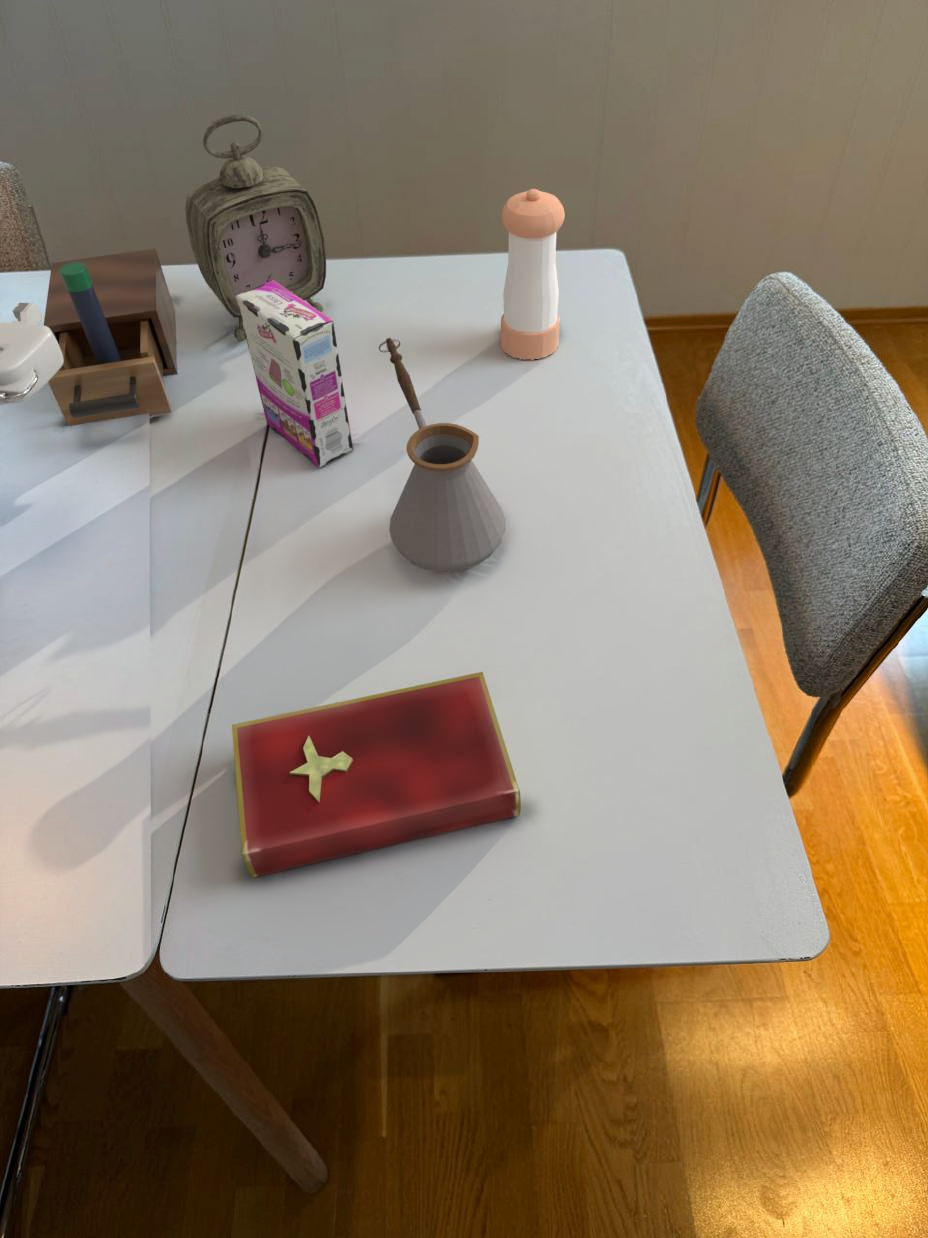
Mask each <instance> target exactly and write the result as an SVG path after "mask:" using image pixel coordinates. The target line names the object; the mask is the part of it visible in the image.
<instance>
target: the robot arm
mask: <svg viewBox="0 0 928 1238" xmlns="http://www.w3.org/2000/svg"><path fill="white" fill-rule="evenodd" d="M12 313H13V316H14V317H15V319H16V320H14V321H13V322H1V321H0V406H5V405H13V404H20V403H22V402H24V401H26V400H28V399H30V398H31V397H32V396H35V394H36V393H38V392H39V391H40V390H41V389H42V388H43V387H44V386H45V385H46V384H48V381H49V380H50V379H51V378H52V377H53V376H54V375H55V374H56V373H57V371H58V370H59V369H60V368H61V367H62V365H63V362H64V359H63V355H62V351H61V349H60V346H59V344H58V342H57V340H56V338H55V336H54V334H53V333H52V331H51V329H50V328H49V327H47V326H44V324H40V323H41V322H42V313H41V311H40V308H39V306H38V304H36V303H35V302H34V303H33V302H31V303H30V302H19V303H18V304H17V306H15V307H14V308H13V310H12Z"/></svg>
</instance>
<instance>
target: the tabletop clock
mask: <svg viewBox="0 0 928 1238" xmlns="http://www.w3.org/2000/svg"><path fill="white" fill-rule="evenodd" d="M236 122H245V123H246V122H247V123H250V124H252V125H254V126H255V127H256V128H257V130H258V135H257V137H256V138H255V140H253V142H251V143H249V144H247V145H246V146H242V147H241V145H240V143H239V142H237V141H233V142H231V143H230V150H228V151H217V150H213V149H211V148H210V147H209V145H208V141H209V138H210V136H211V135H212V133H213V132H214V131H215V130H217V129H218V128H219V127H222V126H225V125H227V124H228V125H229V124H232V123H236ZM263 131H264V130H263V128H262V126H261V124H260V122H258V120H257V119H255V118H254V117H252V116H251V115H248V114H247V115H246V114H242V113H241V114H231V115H228V116H224V117H221V118H219V119H217V120H214V121H213V122H212V123H211V124H210V125H208V127H207V129H206V130H205V132H204V133H203V138H202V144H203V149H204V150H205V151H206V152H207V153H208V154H209V155H210V156H213V157H214V158H218V159H226V160H225V161H224V162H223V163H224V164H222V167H221V168H220V171H219V177H216V178H213V179H211V180H207V181H205V182H203V183H201V184H199V185H197V186H196V187H194V188H193V189H192V190H190V191H189V192H188V193H187V194H186V200H185V219H186V221H185V222H186V226H187V230H188V236H189V242H190V246H191V249H192V253H193V255H194V258H195V261H196V264H197V266H198V269H199V272H200V273H201V276H202V278H203V280H204V281H205V283H206V284H207V286H208V287H209V288H210V290H211V291H212V293H213V294H214V295H215V296H216V298H217V299H218V301H219V302H220V303H221V304H222V305H223V307H224V308H225V309H226V311H227V312H228V313H229V314H230V315H231V316H232V318H233V319H234V318H235V319H238V327H237V328H235V329H234V332H233V336H234V338H235V339H236V340H237V341H239V342H242V341H245V340H246V335H245V331H244V327H243V322H242V318H241V314H240V310H239V306H238V302H237V299H236V296H237V295H239V294H241V293H243V292H246V291H249V290H251V289H253V288H255V287H257V286H260V285H262V284H264V283H267V282H269V281H272V280H274V281H276V282H277V283H278V284H280V285H281V286H283V287H284V288H286V289H287V290H289V291H290V292H292V293H293V294H295V295H296V296H298V297H299V298H301V299H302V300H304V301H305V302H307V303H308V304H310V305H311V306H312V307H314V308H316V309H317V310H318V311H320V312H322V313H323V312H324V307H323V305H322V303H320V302H317V301H315V302H314V300H313V297H314V296H316V295H317V294H319V293H320V291H322V290H323V289H324V287H325V283H326V278H327V257H326V256H327V255H326V244H325V237H324V234H323V228H322V224H321V221H320V216H319V213H318V210H317V206H316V204H315V202H314V200H313V199H312V197H311V195H310V194H309V191H307V190H306V188H305V187H303V186H302V185H301V184H300V183H299V182H298V181H297V180H296V179H295V178H294V177H293V176H292V175H291V174H290V173H289V172H288V171H286V170H285V169H284V168H283V167H279V166H273V165H272V166H271V165H266V166H260V165H259V163H257V162H256V160H254V159H253V158H252V157H250V156H248V155H247V156H246V154H248V153H251V152H252V151H253V150H255V149H256V148H257V147H258V146H259V144H260V143H261V141H262V139H263V134H264V132H263Z"/></svg>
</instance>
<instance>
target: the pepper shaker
mask: <svg viewBox="0 0 928 1238" xmlns="http://www.w3.org/2000/svg"><path fill="white" fill-rule="evenodd" d="M565 216H566V215H565V209H564V206H563V204H562V203H561V201H560V200H559V198H558V197H557V196H555V195H554V194H552V193H549V192H546V191H540V190H539V189H538V188H537V189H536V188H530V189H528V190H527V191H522V192H519V193H515V194H514V195H512V196H511V197H509V199H508V200H507V201H506V202H505V204H504V206H503V208H502V212H501V222H502V224H503V226H504V227H505V229H506V231H507V232H508V249H507V250H508V251H507V253H508V255H507V257H508V259H507V261H508V263H507V269H506V275H505V280H504V286H503V294H502V300H503V314H502V315H501V318H500V346H501V349H502V351H503V352H504V353H505V354H506V353H507V354H506V355H507V356H509V355H511V356H514V357H515V358H514V359H516V358H521V359H524V360H523V361H526V360H525V359H531V360H530V361H535V360H534V359H537V358H542V357H545V356H547V355H549V354H552V353H553V352H554V351H556V352H557V350H558V348H559V346H560V345H559V343H560V325H561V324H560V321H561V317H560V316H559V314H558V307H559V297H560V296H559V293H560V292H559V291H560V290H559V282H558V281H559V280H558V272H557V263H556V255H557V254H556V253H557V232H558V231H559V230H560V229H561V227H562V226H563V224H564V221H565ZM557 347H558V348H557ZM556 349H557V350H556ZM554 353H555V352H554ZM554 353H553V354H554ZM553 354H552V355H553ZM511 356H510V357H511ZM521 359H520V360H521Z"/></svg>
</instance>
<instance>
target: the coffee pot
mask: <svg viewBox="0 0 928 1238" xmlns="http://www.w3.org/2000/svg"><path fill="white" fill-rule="evenodd" d="M395 342H398V344H397V345H396V344H395ZM385 344H386V348H387V349H386V350H384V349H381V347H382V346H384V345H385ZM401 345H402V344H401V341H400V340H399V339H395V338H393V339H392V337H387V338H386V339H385V341H383V342H381V343H380V344H379V345H378V351H379V352H380V353H389V354H390V357H389V361H390V363H391V364H393V365H394V371H395V374H396V380H397V382H398V385H399V387H400V390H401V391H402V394H403V395H404V398H405V400H406V402H407V404H408V407H409V409H410V411H411V413H412V415H413V416H414V420H415V422H416V425H417V428H418V430H416V431H415V432H414V433H412V434H411V436H410V437H409V439H408V441H407V443H406V453H407V456H408V458H409V459H410V460H411V462H412V463H413V467H412V469H411V471H410V474H409V476H408V478H407V480H406V482H405V485H404V487H403V490H402V492H401V493H400V496H399V499H398V501H397V503H396V505H395V507H394V510H393V512H392V514H391V516H390V521H389V528H388V532H389V535H390V538H391V542H392V544H393V546H394V547H395V548H396V550H397V551H398V553H399V554H400V555H401V556H402V558H404V559H405V560H407V561H408V562H410V563H411V564H412V565H414V566H416V567H418V568H421V569H423V570H427V571H431V572H437V573H442V574H443V573H449V574H450V573H451V574H452V573H458V572H463V571H466V570H469V569H471V568H474V567H475V566H478V565H481V564H482V563H483V562H484V561H487V559H489V558H490V557H491V556H492V555H493V553H494V552H495V551H496V550H497V549H498V547H499V546H500V544H501V543H502V540H503V537H504V536H505V532H506V517H505V514H504V511H503V509H502V506H501V505H500V504H499V502H498V500H497V498H496V497H495V495H494V494H493V492H492V491H491V488H490V487H489V486H488V483H486V481H485V479H484V478H483V476H482V474H481V472H480V471H479V468H478V467H477V465H475V462H473V459H474V458H475V456H476V454H477V451H478V448H479V444H480V442H479V441H480V436H479V434H477V433H475V432H474V431H473V430H470V429H468V428H467V427H464V426H462V425H459V424H457V423H450V422H438V423H432V424H428V425H427V423H426V420H425V418H424V416H423V413H422V409H421V407H420V402H419V399H418V397H417V394H416V393H417V392H416V391H415V387H414V384H413V381H412V378H411V376H410V373H409V372H408V371H407V369H406V367H405V365H404V363H403V361H402V360H403V355H402V354H400V353H399V352H398V351H397V349H399V348H400V347H401Z"/></svg>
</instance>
